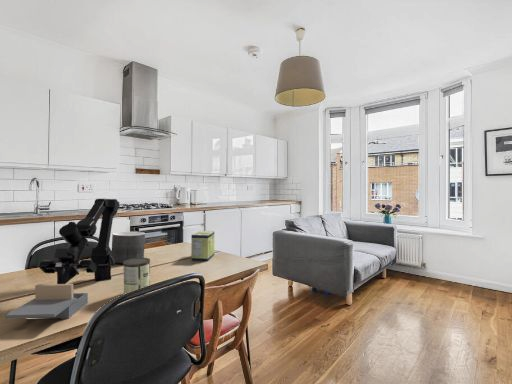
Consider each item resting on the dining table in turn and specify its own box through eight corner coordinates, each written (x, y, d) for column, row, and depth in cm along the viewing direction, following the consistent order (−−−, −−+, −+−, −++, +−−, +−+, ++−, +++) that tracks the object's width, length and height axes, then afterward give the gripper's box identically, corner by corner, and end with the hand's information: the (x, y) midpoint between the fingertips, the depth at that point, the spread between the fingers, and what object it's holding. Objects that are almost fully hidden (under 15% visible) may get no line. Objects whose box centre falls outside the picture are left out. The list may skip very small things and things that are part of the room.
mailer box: (49, 304, 105) (49, 293, 105) (87, 303, 106) (87, 292, 106) (25, 319, 93) (25, 307, 93) (69, 318, 94) (68, 306, 94)
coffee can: (129, 289, 120) (129, 257, 120) (153, 289, 121) (153, 257, 120) (118, 299, 110) (118, 264, 110) (144, 299, 110) (144, 264, 110)
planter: (136, 264, 156) (138, 236, 156) (104, 263, 155) (106, 234, 155) (148, 257, 173) (149, 232, 174) (119, 256, 173) (120, 231, 173)
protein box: (214, 254, 180) (214, 231, 180) (207, 261, 165) (208, 235, 164) (199, 254, 181) (199, 230, 181) (191, 260, 166) (191, 235, 166)
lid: (34, 301, 98) (34, 284, 97) (76, 300, 99) (76, 283, 99) (5, 318, 85) (4, 299, 85) (54, 317, 86) (54, 298, 86)
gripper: (40, 239, 104) (18, 278, 93) (92, 238, 105) (76, 277, 94) (54, 254, 112) (35, 292, 101) (102, 253, 113) (88, 291, 103)
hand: (58, 288), depth 100 cm, fingers closed
